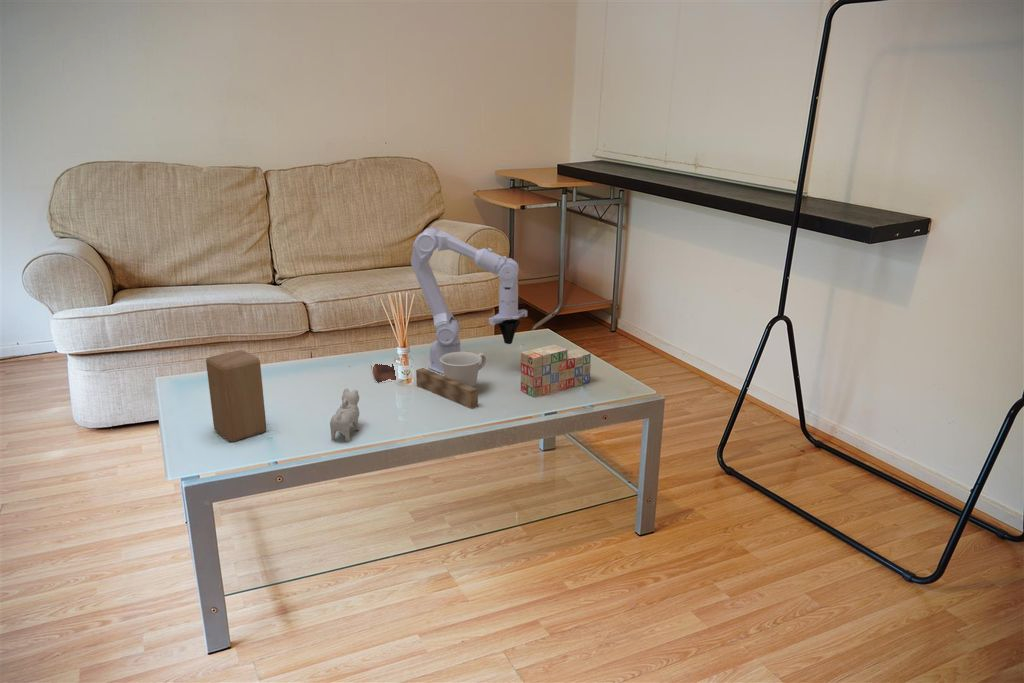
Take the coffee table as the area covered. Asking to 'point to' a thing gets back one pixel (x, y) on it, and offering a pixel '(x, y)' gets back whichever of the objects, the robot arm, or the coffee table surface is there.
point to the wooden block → (236, 394)
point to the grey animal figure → (346, 415)
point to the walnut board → (447, 388)
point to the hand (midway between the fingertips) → (508, 343)
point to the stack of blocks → (553, 370)
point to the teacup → (462, 366)
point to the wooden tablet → (383, 372)
